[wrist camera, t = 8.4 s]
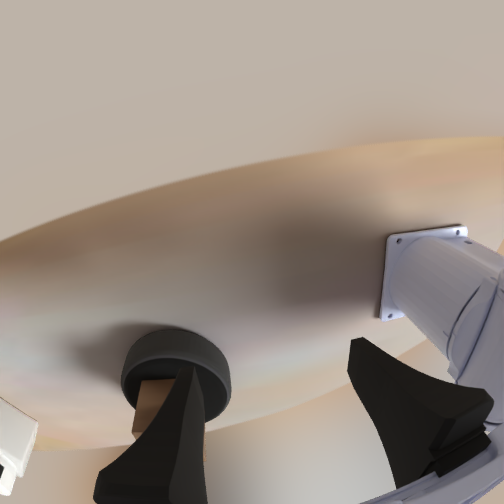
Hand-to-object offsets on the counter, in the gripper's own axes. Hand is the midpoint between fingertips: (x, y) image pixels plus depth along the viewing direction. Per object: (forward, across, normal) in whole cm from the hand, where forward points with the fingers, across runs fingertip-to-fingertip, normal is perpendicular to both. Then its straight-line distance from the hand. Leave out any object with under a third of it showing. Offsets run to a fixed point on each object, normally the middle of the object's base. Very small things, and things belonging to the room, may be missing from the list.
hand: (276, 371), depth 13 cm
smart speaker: (+10, +7, +8) cm, 15 cm away
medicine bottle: (+10, +33, +17) cm, 38 cm away
